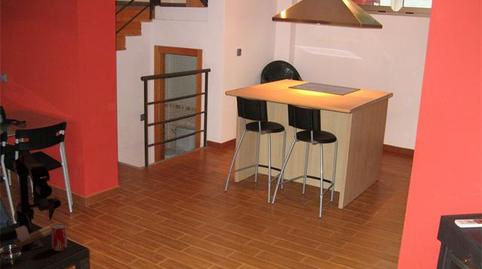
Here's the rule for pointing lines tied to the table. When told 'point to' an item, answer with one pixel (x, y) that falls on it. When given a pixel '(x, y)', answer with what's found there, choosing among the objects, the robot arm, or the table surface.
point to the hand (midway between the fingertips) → (40, 221)
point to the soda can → (59, 237)
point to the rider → (22, 234)
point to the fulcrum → (35, 244)
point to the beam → (35, 236)
